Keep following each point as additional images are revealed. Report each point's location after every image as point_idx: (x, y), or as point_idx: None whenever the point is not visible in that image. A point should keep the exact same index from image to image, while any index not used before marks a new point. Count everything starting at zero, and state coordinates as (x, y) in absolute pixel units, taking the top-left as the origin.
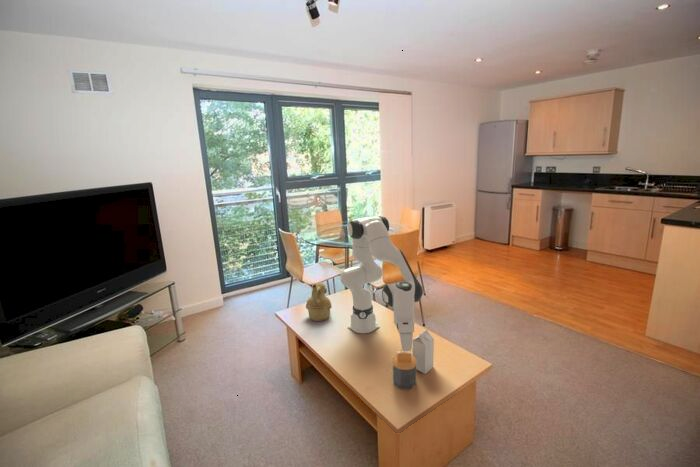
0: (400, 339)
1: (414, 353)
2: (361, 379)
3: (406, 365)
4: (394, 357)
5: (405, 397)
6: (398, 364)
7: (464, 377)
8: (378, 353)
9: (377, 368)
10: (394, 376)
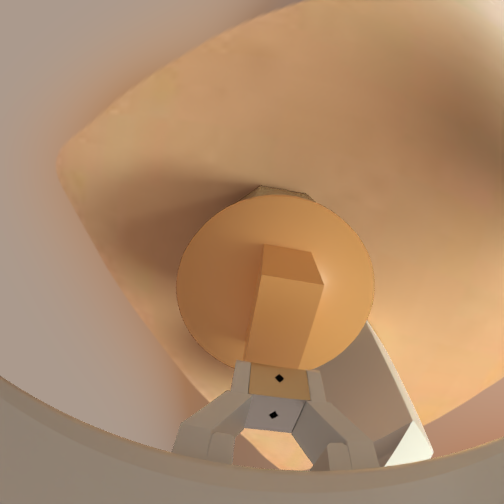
0: (164, 480)
1: (371, 365)
2: (326, 41)
3: (204, 297)
4: (329, 233)
5: (169, 218)
6: (224, 240)
7: (253, 433)
8: (486, 184)
9: (398, 138)
10: (254, 194)
